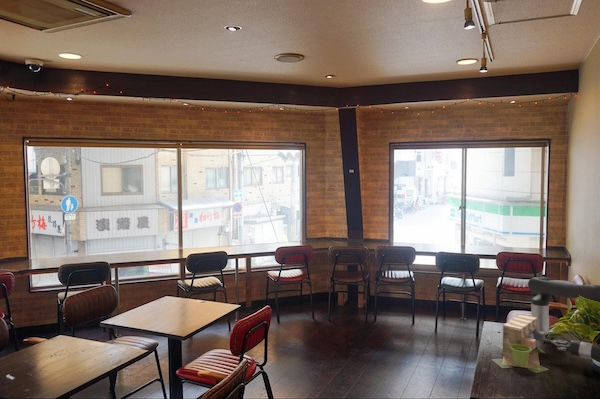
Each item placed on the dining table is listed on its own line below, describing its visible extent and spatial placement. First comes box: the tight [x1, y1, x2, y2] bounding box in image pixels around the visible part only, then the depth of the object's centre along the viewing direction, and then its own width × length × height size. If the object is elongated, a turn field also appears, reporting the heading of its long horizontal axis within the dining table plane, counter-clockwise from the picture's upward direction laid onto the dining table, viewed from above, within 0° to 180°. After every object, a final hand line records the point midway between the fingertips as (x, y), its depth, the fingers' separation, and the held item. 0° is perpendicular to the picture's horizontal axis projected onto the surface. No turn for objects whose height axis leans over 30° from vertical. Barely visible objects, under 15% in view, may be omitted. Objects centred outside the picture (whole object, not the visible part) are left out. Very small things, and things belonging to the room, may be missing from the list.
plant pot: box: [510, 344, 532, 368], centre depth 234 cm, size 9×9×9 cm
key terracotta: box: [523, 337, 537, 350], centre depth 242 cm, size 4×6×4 cm, turn 47°
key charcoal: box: [532, 330, 546, 342], centre depth 253 cm, size 4×6×4 cm, turn 47°
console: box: [502, 313, 538, 359], centre depth 252 cm, size 25×9×16 cm, turn 137°
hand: (543, 341), depth 244 cm, fingers closed
